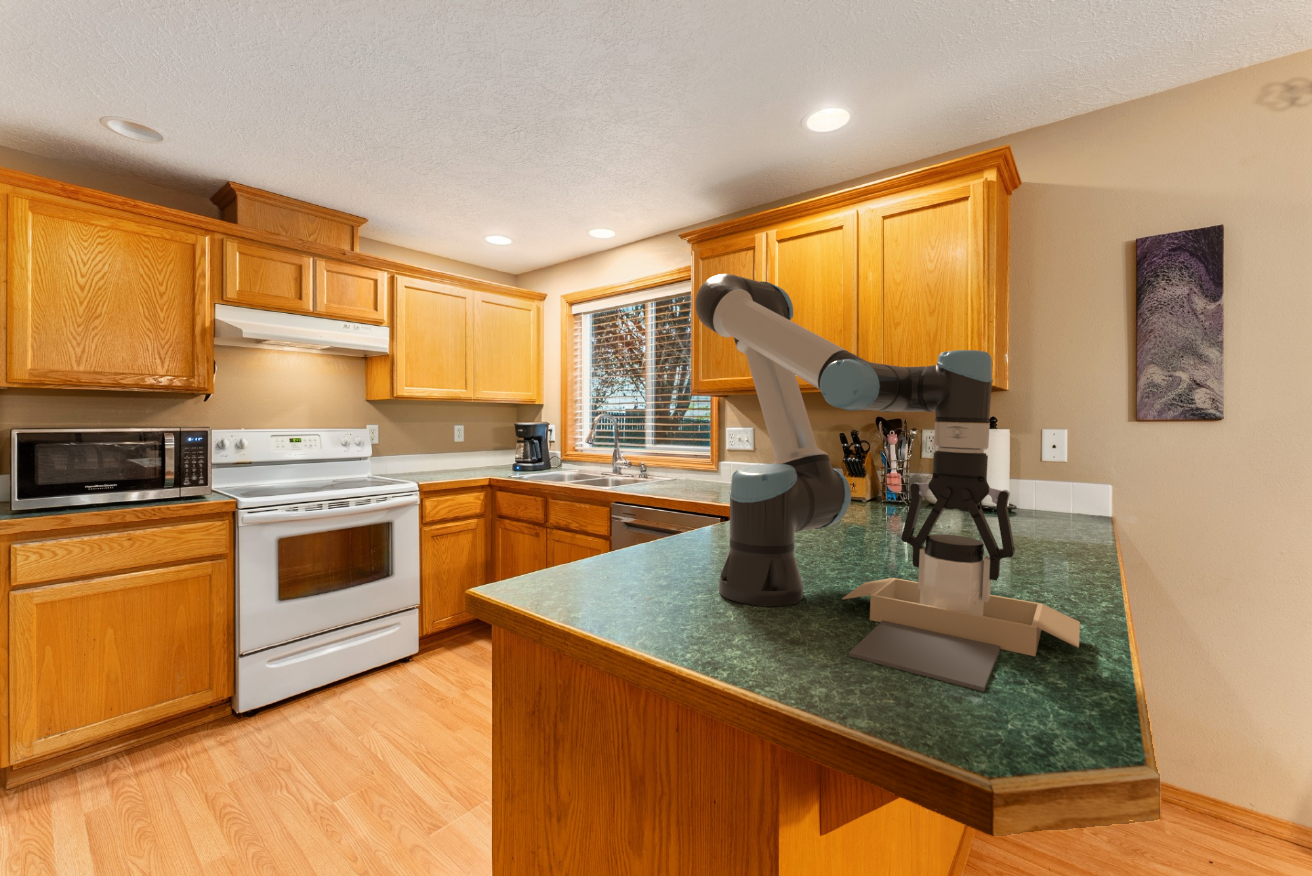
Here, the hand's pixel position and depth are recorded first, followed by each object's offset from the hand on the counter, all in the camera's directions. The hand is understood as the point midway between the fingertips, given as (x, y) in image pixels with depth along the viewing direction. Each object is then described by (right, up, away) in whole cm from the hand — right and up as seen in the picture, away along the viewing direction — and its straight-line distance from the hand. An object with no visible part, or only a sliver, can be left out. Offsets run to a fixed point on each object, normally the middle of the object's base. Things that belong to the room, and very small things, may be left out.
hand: (953, 593), depth 91 cm
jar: (0, -4, 0) cm, 4 cm away
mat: (-10, -5, -12) cm, 16 cm away
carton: (0, -5, 0) cm, 5 cm away
